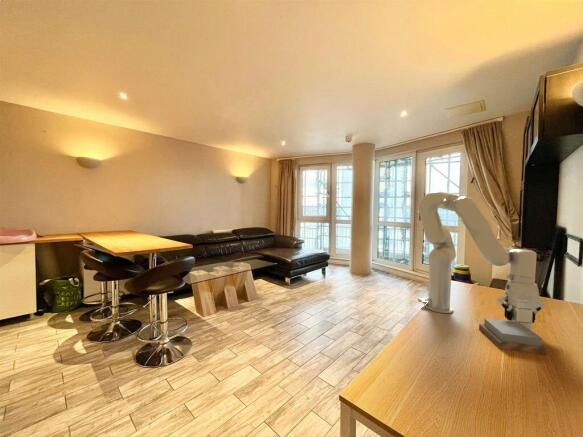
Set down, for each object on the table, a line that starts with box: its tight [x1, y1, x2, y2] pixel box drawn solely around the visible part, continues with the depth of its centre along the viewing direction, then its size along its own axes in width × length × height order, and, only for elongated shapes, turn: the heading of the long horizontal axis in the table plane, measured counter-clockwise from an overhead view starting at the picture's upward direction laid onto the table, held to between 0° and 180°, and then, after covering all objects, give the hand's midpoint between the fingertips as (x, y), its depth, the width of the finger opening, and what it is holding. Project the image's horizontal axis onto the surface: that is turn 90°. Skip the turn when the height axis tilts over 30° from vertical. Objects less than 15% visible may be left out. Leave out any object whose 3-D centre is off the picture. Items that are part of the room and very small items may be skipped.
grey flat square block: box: [478, 323, 547, 355], centre depth 92 cm, size 14×14×3 cm
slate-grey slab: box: [483, 318, 543, 346], centre depth 92 cm, size 12×12×3 cm
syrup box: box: [506, 300, 533, 332], centre depth 100 cm, size 6×6×14 cm
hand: (519, 319), depth 100 cm, fingers open, 7 cm apart
